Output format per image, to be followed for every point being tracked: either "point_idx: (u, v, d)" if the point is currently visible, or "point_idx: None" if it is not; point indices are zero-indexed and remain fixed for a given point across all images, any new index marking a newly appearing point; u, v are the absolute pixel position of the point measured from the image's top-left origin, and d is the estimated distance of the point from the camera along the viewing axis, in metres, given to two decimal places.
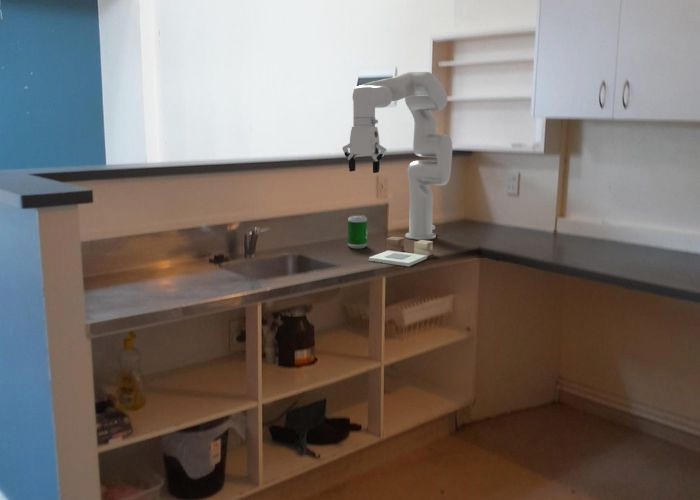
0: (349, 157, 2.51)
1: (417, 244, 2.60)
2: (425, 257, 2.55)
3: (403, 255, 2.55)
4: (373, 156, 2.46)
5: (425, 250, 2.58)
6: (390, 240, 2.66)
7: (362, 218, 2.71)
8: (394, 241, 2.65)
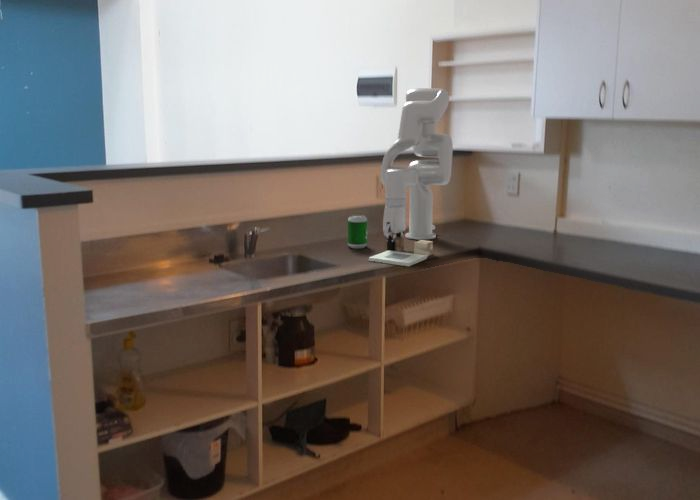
0: (393, 239, 2.64)
1: (417, 244, 2.60)
2: (425, 257, 2.55)
3: (403, 255, 2.55)
4: (402, 233, 2.69)
5: (425, 250, 2.58)
6: None
7: (362, 218, 2.71)
8: (394, 241, 2.65)
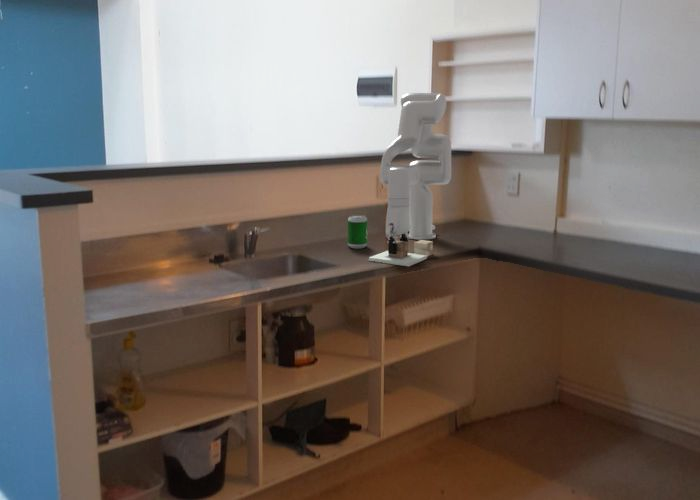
0: (395, 240, 2.48)
1: (417, 244, 2.60)
2: (425, 257, 2.55)
3: None
4: (407, 234, 2.55)
5: (425, 250, 2.58)
6: None
7: (362, 218, 2.71)
8: (397, 245, 2.50)
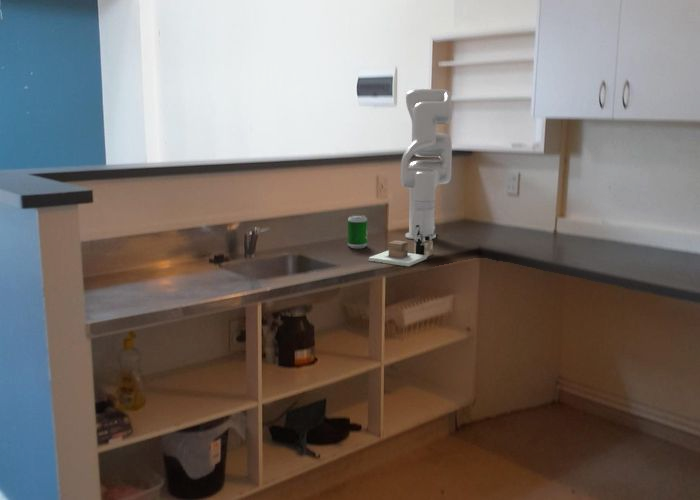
0: (422, 242, 2.57)
1: None
2: (425, 257, 2.55)
3: None
4: (430, 237, 2.62)
5: (425, 250, 2.58)
6: (393, 244, 2.51)
7: (362, 218, 2.71)
8: (397, 245, 2.50)
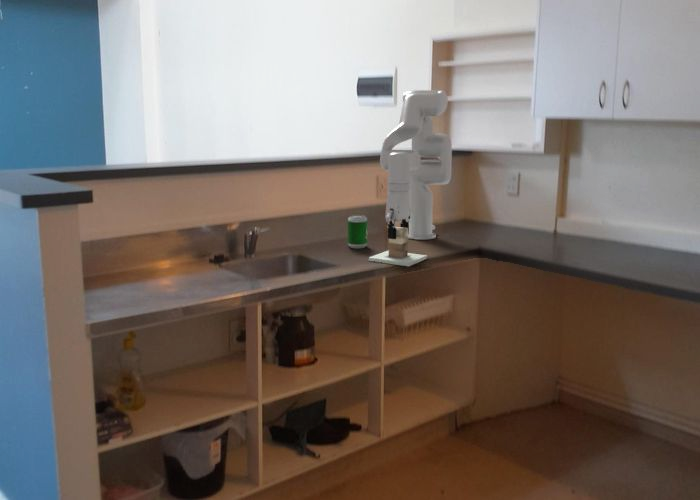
0: (395, 225, 2.47)
1: None
2: (425, 257, 2.55)
3: None
4: (407, 219, 2.54)
5: (399, 237, 2.49)
6: (393, 244, 2.51)
7: (362, 218, 2.71)
8: (397, 245, 2.50)
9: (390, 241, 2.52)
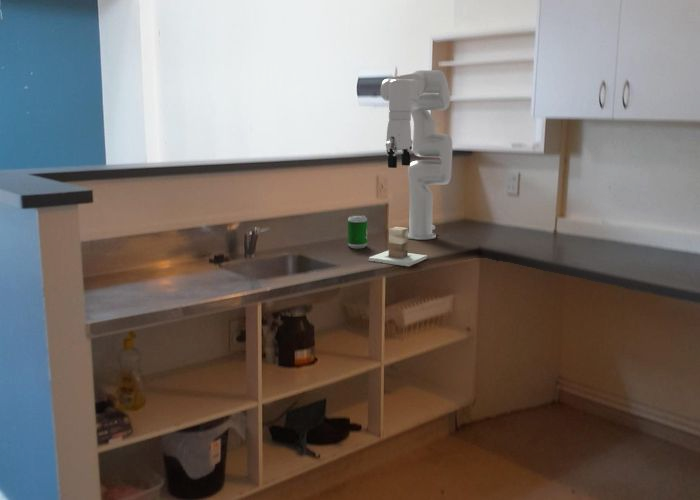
0: (395, 153, 2.41)
1: (392, 231, 2.51)
2: (425, 257, 2.55)
3: None
4: (409, 149, 2.49)
5: (399, 237, 2.49)
6: (393, 244, 2.51)
7: (362, 218, 2.71)
8: (397, 245, 2.50)
9: (390, 241, 2.52)
